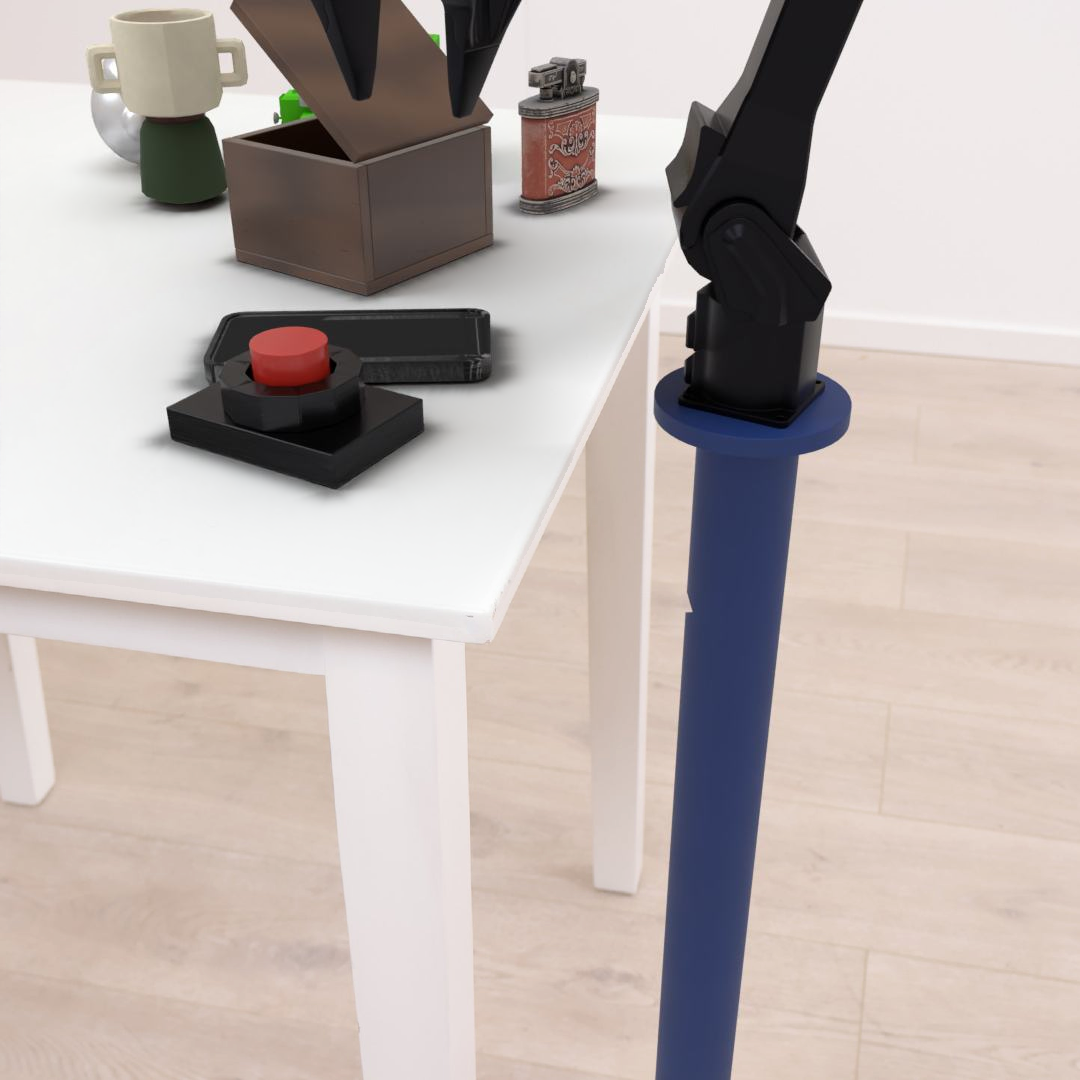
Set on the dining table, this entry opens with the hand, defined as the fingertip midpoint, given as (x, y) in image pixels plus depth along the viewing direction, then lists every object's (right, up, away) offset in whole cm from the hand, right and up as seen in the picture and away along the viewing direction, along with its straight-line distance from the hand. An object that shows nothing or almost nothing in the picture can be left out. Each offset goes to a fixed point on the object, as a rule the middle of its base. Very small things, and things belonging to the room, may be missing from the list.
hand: (411, 108), depth 66 cm
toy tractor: (-6, +8, +40) cm, 41 cm away
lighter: (+8, +3, +32) cm, 33 cm away
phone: (-4, -12, +6) cm, 14 cm away
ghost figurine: (-25, +8, +40) cm, 48 cm away
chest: (-5, -3, +21) cm, 22 cm away
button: (-5, -14, -4) cm, 16 cm away
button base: (-5, -17, -3) cm, 18 cm away
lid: (-4, +7, +15) cm, 17 cm away
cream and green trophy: (-20, +3, +32) cm, 38 cm away
